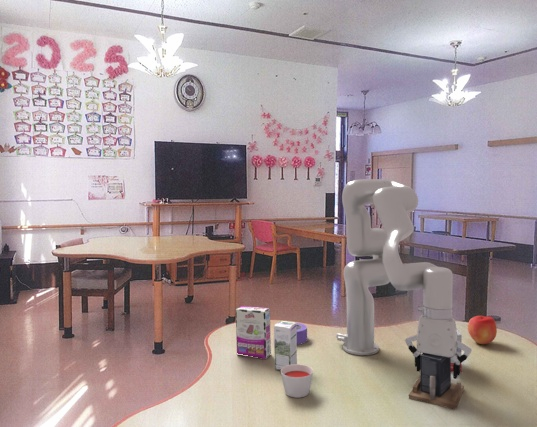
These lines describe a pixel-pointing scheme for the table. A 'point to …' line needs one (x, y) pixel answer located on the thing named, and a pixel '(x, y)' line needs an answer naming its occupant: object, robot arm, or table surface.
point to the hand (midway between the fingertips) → (437, 373)
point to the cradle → (446, 400)
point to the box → (435, 373)
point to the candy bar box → (253, 331)
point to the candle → (297, 380)
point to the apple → (482, 329)
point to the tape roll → (301, 333)
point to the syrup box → (285, 344)
